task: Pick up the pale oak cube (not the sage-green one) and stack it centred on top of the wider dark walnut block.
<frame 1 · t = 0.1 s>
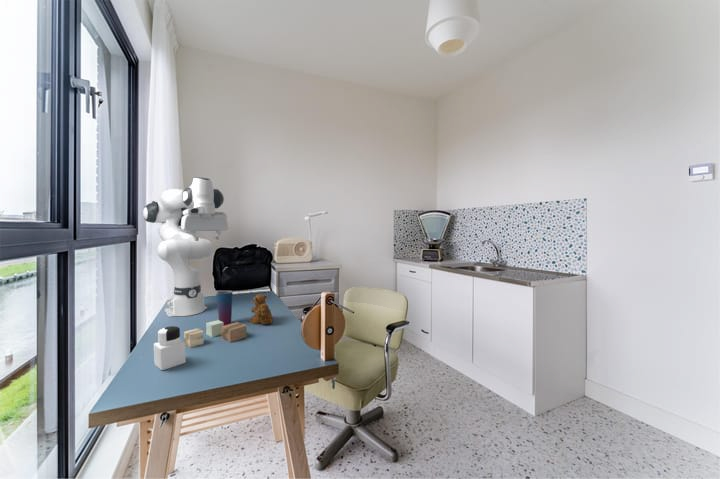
hand: (206, 240, 138), 39 cm above the table, tool pointing down, fingers open, 8 cm apart
walnut base: (234, 338, 120), on the table
medicine bottle: (170, 364, 97), on the table
sage cube: (215, 334, 124), on the table
cup: (225, 324, 137), on the table
brown teddy bear: (262, 323, 139), on the table
oak cube: (194, 344, 114), on the table
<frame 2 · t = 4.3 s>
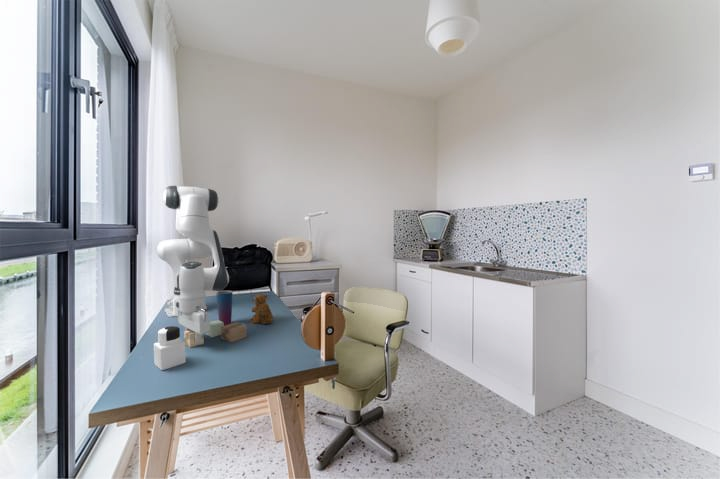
hand: (193, 339, 114), 2 cm above the table, tool pointing down, fingers closed on oak cube, 5 cm apart
oak cube: (194, 343, 114), on the table, touching gripper
everything else where it was.
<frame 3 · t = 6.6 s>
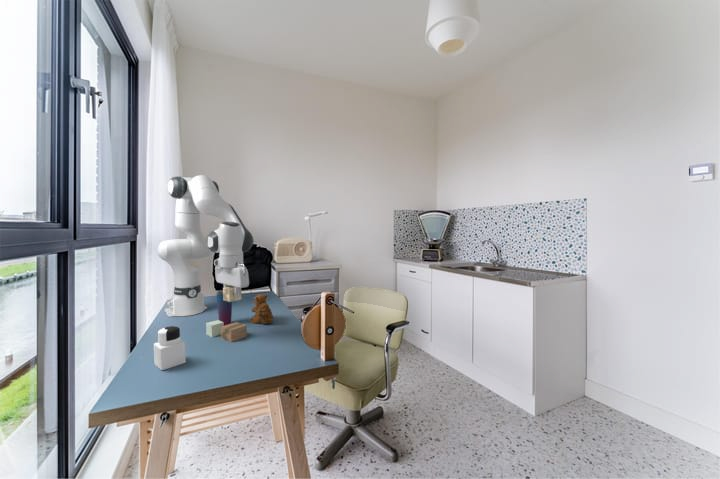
hand: (232, 295, 119), 17 cm above the table, tool pointing down, fingers closed on oak cube, 5 cm apart
oak cube: (232, 299, 119), point 16 cm above the table, touching gripper
everything else where it was.
when the fingers open (8 cm above the table, at t = 9.2 s): oak cube drops 1 cm, resting on walnut base.
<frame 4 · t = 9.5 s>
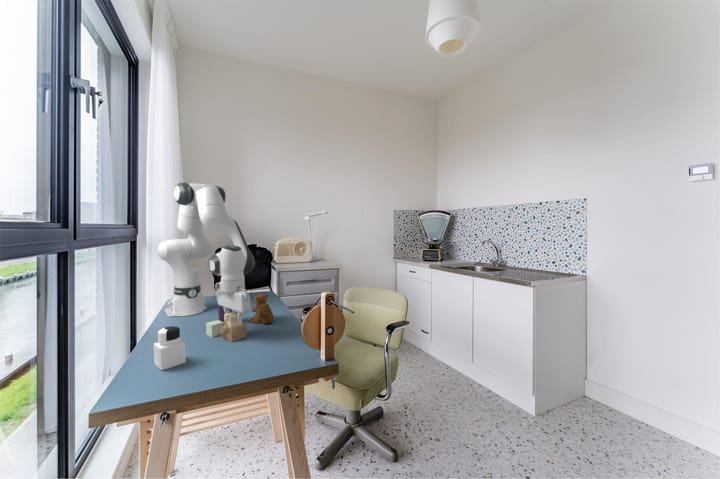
hand: (233, 319, 120), 8 cm above the table, tool pointing down, fingers open, 7 cm apart
walnut base: (234, 338, 120), on the table, touching oak cube
oak cube: (233, 326, 120), point 5 cm above the table, touching walnut base
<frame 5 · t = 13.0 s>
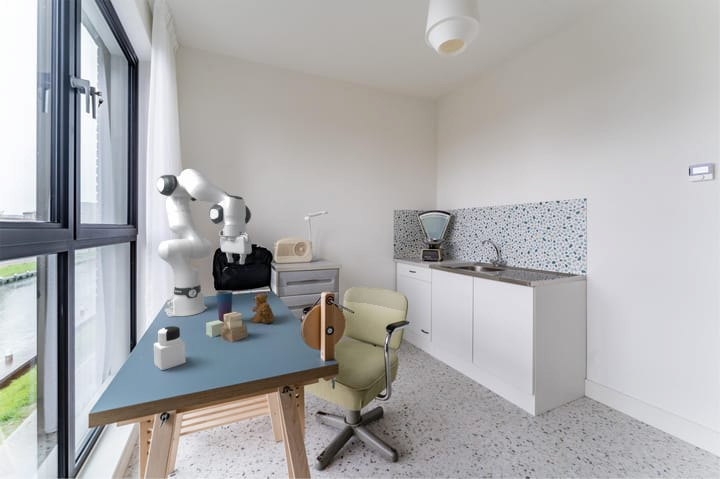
hand: (236, 263, 130), 29 cm above the table, tool pointing down, fingers open, 8 cm apart
at the end: oak cube 0.5 cm off-centre on the walnut base, point 5.0 cm above the walnut base's base; oak cube tilted 0°; the gripper is holding nothing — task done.
